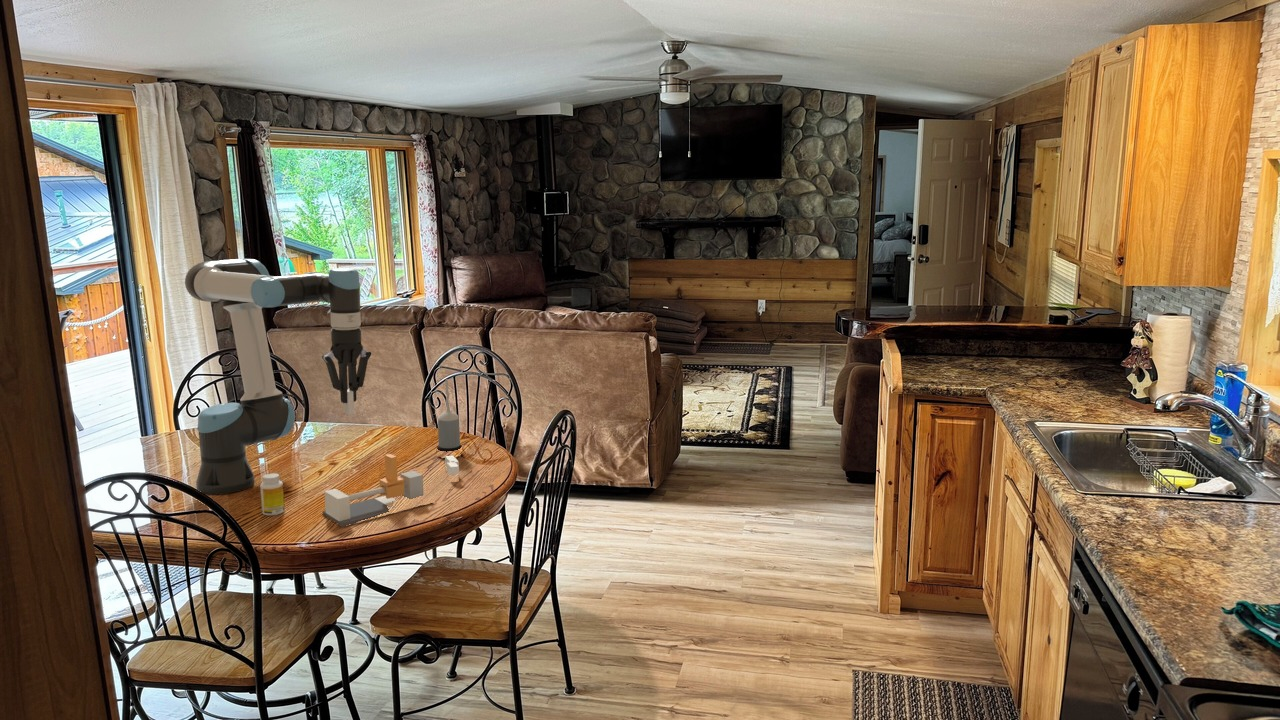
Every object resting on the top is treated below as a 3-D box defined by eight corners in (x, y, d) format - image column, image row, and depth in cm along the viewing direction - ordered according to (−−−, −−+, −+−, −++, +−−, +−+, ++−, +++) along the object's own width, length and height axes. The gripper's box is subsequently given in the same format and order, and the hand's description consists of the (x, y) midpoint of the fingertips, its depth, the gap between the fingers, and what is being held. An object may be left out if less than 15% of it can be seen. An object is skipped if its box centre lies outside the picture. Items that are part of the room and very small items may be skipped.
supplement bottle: (288, 512, 230) (286, 475, 228) (267, 518, 226) (265, 480, 224) (279, 507, 234) (276, 470, 232) (258, 512, 230) (255, 475, 228)
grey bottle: (440, 451, 286) (437, 376, 282) (465, 451, 286) (463, 377, 281) (433, 458, 278) (431, 382, 274) (459, 458, 278) (456, 382, 273)
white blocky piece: (443, 469, 269) (443, 451, 268) (478, 472, 267) (477, 454, 265) (422, 485, 254) (421, 466, 253) (458, 488, 252) (457, 469, 251)
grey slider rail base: (342, 527, 221) (341, 499, 219) (322, 514, 229) (321, 487, 228) (433, 503, 238) (432, 477, 237) (411, 492, 247) (410, 467, 245)
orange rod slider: (387, 498, 233) (385, 459, 231) (380, 495, 236) (378, 456, 234) (404, 494, 236) (402, 455, 234) (397, 490, 239) (395, 452, 237)
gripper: (328, 331, 222) (331, 420, 227) (375, 327, 231) (378, 413, 236) (315, 327, 227) (319, 414, 232) (362, 323, 236) (365, 407, 241)
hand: (349, 413), depth 234 cm, fingers closed
